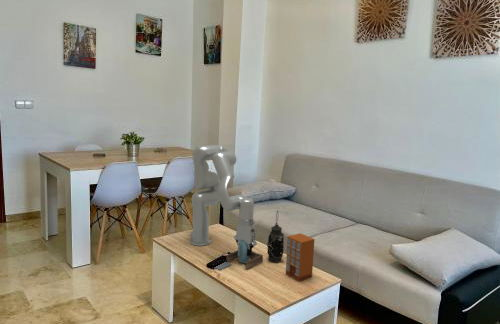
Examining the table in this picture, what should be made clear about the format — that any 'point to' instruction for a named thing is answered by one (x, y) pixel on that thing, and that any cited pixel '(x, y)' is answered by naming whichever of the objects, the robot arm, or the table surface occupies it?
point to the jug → (243, 252)
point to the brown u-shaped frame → (254, 261)
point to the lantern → (275, 244)
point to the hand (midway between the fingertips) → (244, 253)
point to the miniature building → (299, 256)
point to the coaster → (223, 266)
